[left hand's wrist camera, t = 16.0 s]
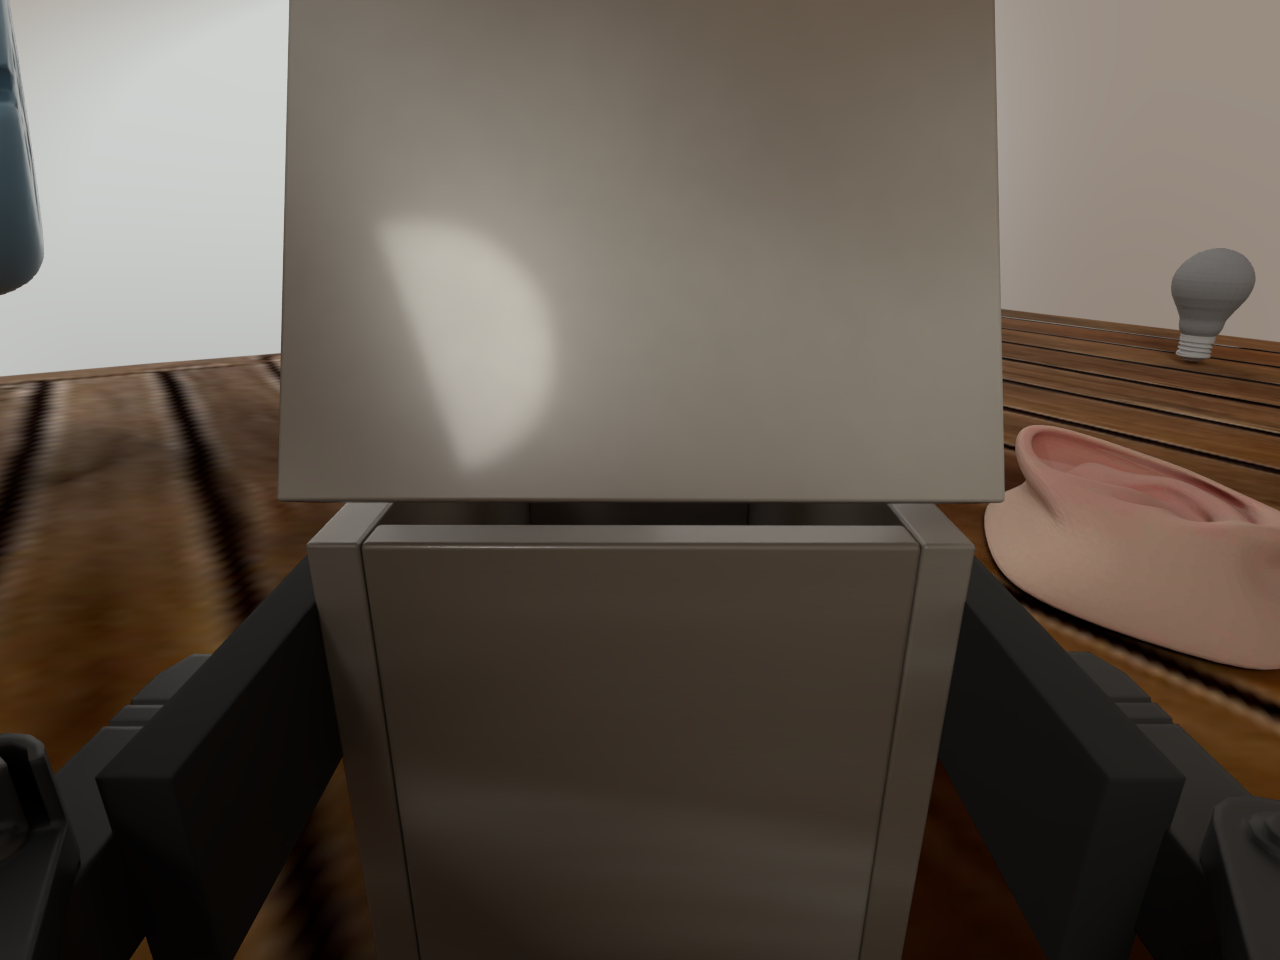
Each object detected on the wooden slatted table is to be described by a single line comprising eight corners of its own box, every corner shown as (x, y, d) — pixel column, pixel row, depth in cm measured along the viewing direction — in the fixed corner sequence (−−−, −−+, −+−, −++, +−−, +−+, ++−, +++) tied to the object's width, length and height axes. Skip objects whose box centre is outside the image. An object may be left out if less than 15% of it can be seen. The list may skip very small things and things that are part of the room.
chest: (517, 592, 28) (501, 342, 25) (760, 593, 28) (777, 342, 25) (385, 1016, 13) (303, 543, 10) (892, 1016, 13) (977, 545, 10)
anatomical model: (1436, 582, 20) (978, 504, 25) (1384, 703, 21) (960, 606, 27) (1305, 449, 31) (1005, 414, 36) (1276, 535, 32) (991, 489, 38)
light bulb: (1170, 365, 67) (1199, 249, 63) (1142, 353, 72) (1168, 246, 69) (1245, 368, 66) (1279, 250, 62) (1211, 355, 71) (1241, 247, 68)
